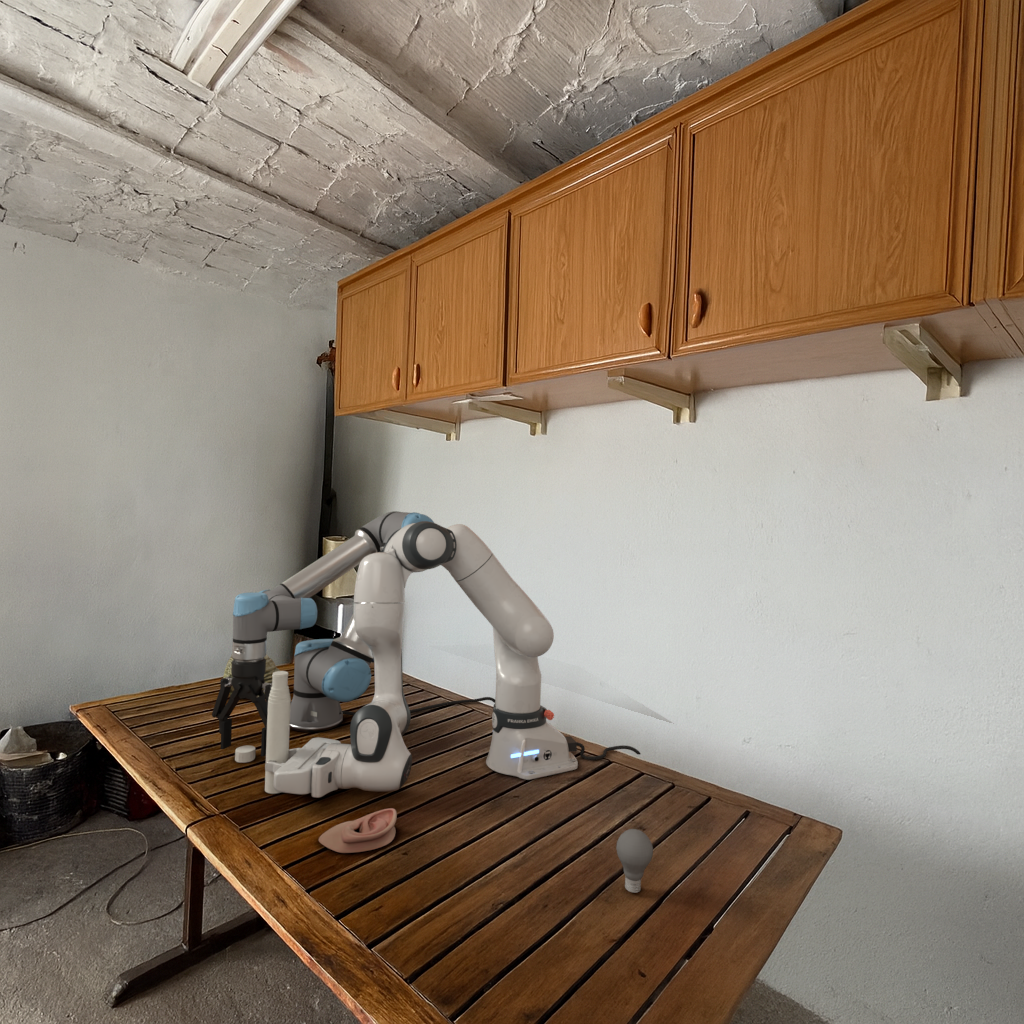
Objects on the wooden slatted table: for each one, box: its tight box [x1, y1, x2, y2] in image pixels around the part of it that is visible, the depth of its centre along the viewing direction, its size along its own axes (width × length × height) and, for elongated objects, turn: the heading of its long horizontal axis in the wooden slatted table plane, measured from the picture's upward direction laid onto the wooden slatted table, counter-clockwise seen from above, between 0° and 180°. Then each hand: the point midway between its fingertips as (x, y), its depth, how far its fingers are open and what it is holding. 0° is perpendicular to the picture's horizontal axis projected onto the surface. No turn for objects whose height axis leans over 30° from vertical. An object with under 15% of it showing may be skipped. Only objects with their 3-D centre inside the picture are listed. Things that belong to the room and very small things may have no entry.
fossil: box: [222, 653, 281, 697], centre depth 198 cm, size 9×18×15 cm, turn 132°
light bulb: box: [615, 828, 654, 894], centre depth 106 cm, size 6×6×10 cm
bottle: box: [264, 670, 292, 795], centre depth 136 cm, size 5×5×25 cm
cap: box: [234, 745, 256, 764], centre depth 151 cm, size 4×4×2 cm
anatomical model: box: [318, 807, 398, 854], centre depth 118 cm, size 13×4×12 cm
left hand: (245, 750), depth 151 cm, fingers open, 10 cm apart
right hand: (273, 759), depth 136 cm, fingers closed on bottle, 4 cm apart
